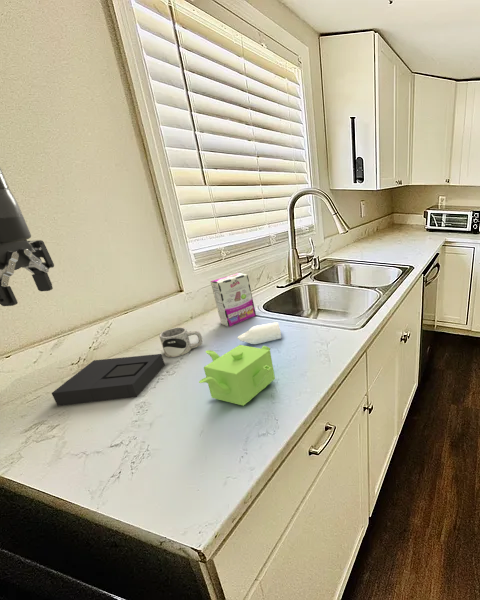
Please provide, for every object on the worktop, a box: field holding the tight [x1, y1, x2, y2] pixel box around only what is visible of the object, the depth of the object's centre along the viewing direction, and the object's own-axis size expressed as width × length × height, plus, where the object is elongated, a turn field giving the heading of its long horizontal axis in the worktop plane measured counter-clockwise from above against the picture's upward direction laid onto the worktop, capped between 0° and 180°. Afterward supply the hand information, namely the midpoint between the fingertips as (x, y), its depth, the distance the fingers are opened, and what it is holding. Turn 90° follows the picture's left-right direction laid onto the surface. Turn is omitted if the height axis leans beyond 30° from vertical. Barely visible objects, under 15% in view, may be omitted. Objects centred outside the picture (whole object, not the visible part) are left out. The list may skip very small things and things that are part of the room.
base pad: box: [51, 353, 166, 407], centre depth 81 cm, size 16×14×4 cm
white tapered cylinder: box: [236, 321, 282, 345], centre depth 101 cm, size 6×12×6 cm, turn 121°
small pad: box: [105, 364, 145, 379], centre depth 81 cm, size 6×5×4 cm
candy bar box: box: [210, 272, 257, 328], centre depth 114 cm, size 11×5×16 cm, turn 150°
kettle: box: [198, 344, 276, 407], centre depth 76 cm, size 15×14×11 cm
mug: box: [158, 326, 204, 358], centre depth 96 cm, size 10×7×7 cm
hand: (29, 297), depth 66 cm, fingers open, 8 cm apart
